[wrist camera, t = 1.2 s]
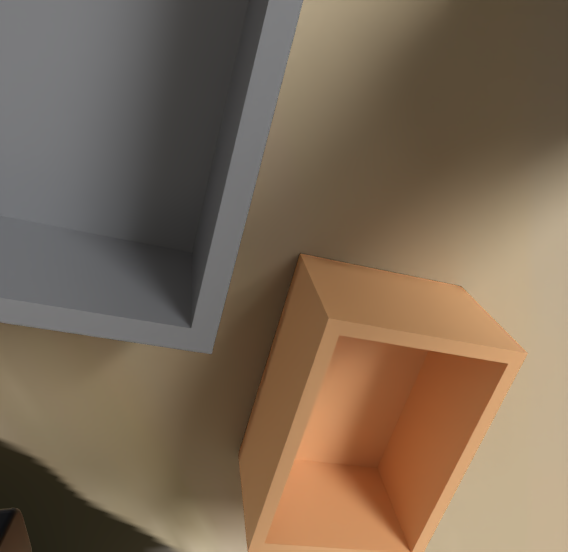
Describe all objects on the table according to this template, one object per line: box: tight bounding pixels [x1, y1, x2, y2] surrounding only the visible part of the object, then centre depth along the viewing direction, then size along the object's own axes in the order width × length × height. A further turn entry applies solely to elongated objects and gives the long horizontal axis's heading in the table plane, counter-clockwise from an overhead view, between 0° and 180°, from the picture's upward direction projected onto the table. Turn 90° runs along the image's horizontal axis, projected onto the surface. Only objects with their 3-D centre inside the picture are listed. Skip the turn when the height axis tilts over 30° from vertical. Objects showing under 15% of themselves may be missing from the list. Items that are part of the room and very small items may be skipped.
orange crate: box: [238, 253, 528, 552], centre depth 21 cm, size 7×10×5 cm
